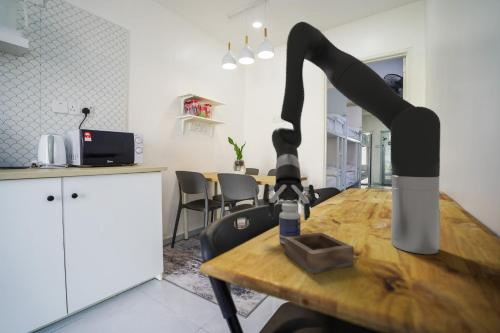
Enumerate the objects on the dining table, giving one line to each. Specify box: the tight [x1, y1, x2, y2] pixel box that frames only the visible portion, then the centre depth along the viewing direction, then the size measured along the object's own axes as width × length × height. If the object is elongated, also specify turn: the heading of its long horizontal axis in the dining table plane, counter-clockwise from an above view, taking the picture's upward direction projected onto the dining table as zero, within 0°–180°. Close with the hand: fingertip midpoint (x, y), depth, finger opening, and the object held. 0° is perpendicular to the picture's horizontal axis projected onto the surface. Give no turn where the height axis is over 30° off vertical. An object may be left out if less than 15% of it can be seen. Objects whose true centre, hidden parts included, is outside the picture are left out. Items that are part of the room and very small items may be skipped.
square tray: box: [283, 232, 355, 274], centre depth 48 cm, size 10×10×4 cm
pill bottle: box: [278, 202, 301, 245], centre depth 58 cm, size 5×5×10 cm
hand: (289, 218), depth 59 cm, fingers open, 8 cm apart
